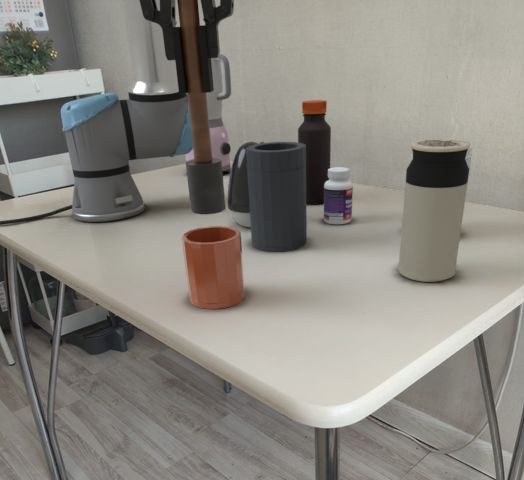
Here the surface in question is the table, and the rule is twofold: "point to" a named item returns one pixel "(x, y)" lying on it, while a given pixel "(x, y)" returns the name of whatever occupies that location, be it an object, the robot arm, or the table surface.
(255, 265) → the table surface
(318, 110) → the vinegar
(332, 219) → the pill bottle
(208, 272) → the pen pot
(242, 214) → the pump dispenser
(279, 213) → the utensil holder
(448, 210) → the travel mug
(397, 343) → the table surface
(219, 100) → the blender
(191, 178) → the brush
